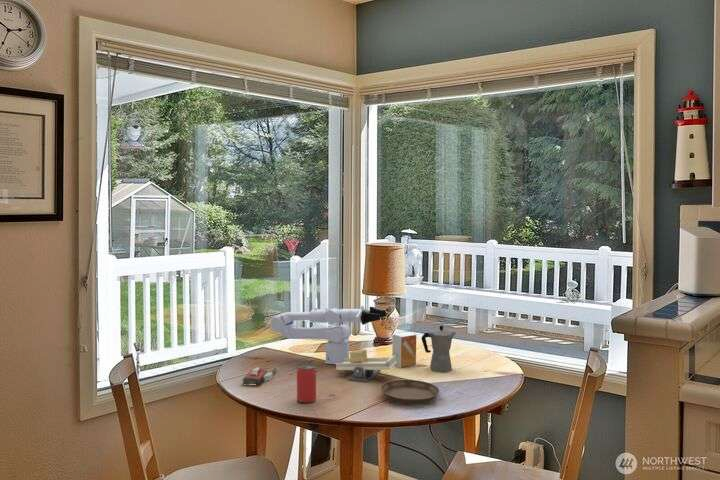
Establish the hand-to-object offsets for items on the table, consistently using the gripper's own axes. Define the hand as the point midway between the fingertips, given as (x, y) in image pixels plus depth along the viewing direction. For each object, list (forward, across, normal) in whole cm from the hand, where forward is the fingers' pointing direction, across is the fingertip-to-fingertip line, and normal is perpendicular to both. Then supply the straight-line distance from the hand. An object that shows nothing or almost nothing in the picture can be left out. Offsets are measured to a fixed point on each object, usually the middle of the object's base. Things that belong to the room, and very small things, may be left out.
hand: (383, 315), depth 246 cm
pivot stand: (-5, -13, +21) cm, 26 cm away
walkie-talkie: (-41, -32, +19) cm, 55 cm away
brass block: (-7, -13, +17) cm, 22 cm away
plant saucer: (+19, -30, +24) cm, 43 cm away
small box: (+5, +7, +22) cm, 24 cm away
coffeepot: (+20, +6, +24) cm, 32 cm away
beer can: (-13, -47, +21) cm, 53 cm away
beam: (-5, -13, +18) cm, 23 cm away
